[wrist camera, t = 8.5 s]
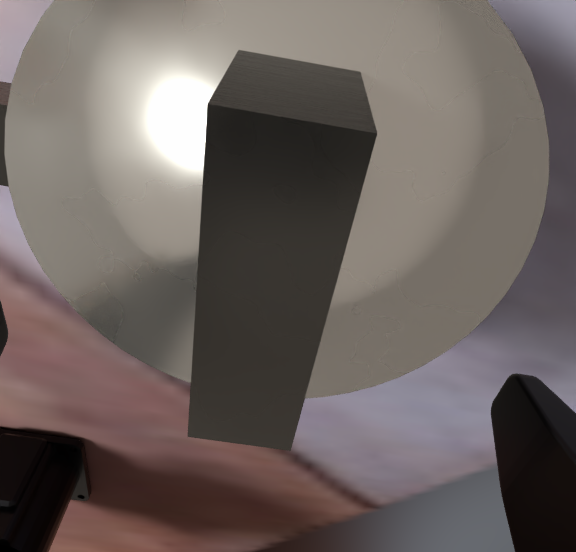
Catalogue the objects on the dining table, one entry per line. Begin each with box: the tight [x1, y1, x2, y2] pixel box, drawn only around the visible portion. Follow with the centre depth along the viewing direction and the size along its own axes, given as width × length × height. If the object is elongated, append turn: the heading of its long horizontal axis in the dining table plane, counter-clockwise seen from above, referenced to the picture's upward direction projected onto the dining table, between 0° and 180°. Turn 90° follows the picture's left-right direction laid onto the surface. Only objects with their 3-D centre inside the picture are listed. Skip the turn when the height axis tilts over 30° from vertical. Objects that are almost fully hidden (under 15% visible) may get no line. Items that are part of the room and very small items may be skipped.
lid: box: [4, 0, 549, 451], centre depth 11 cm, size 13×13×5 cm
